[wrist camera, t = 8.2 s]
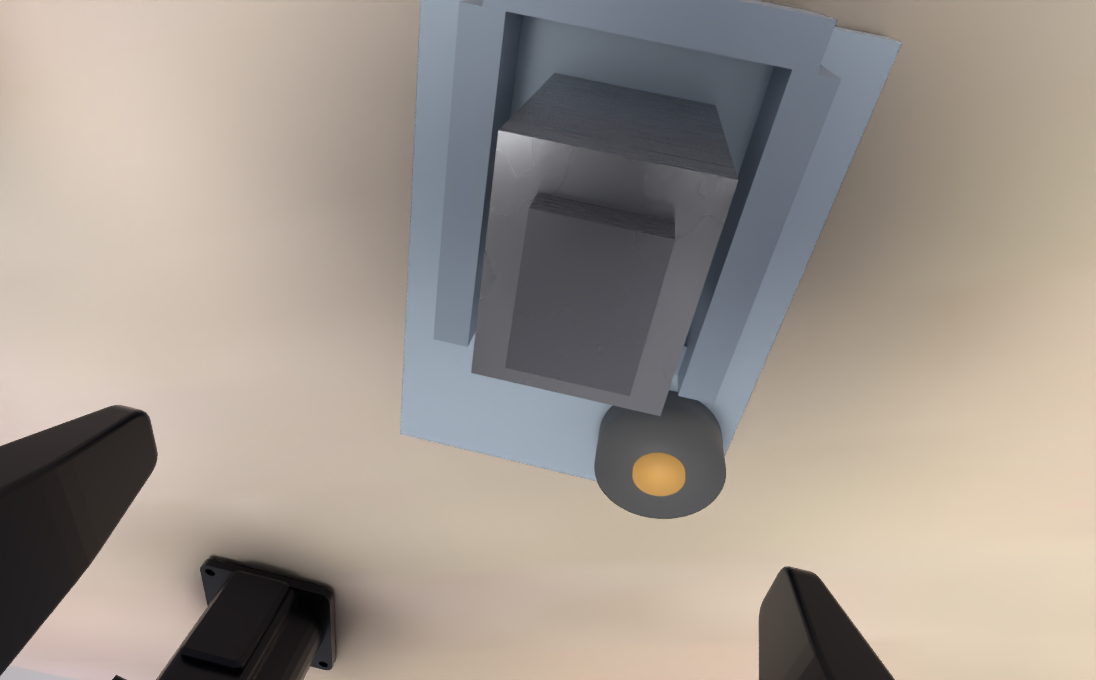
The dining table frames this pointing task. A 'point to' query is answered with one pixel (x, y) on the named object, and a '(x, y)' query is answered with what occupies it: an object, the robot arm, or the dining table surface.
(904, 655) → the dining table surface
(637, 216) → the grey block with tab
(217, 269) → the dining table surface
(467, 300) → the chassis
